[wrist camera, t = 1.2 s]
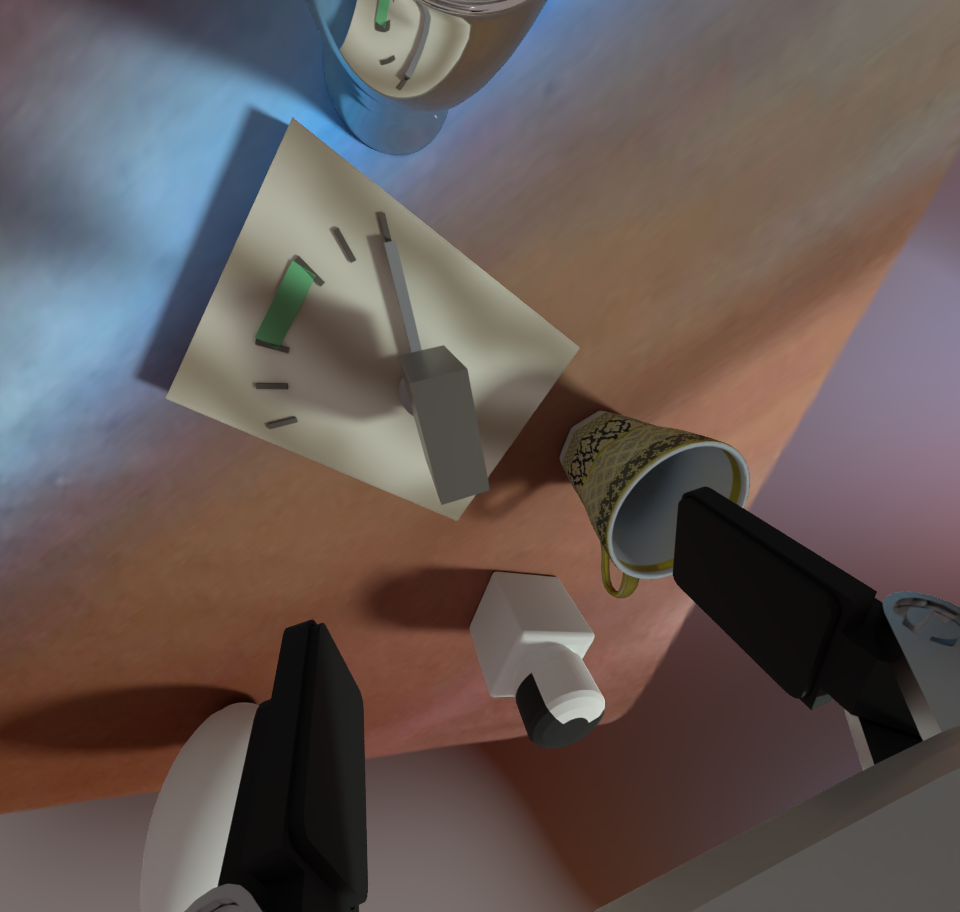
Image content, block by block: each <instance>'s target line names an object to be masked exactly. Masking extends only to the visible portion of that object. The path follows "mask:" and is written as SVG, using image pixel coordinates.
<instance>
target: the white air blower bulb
mask: <svg viewBox="0 0 960 912" xmlns="http://www.w3.org/2000/svg"><path fill="white" fill-rule="evenodd" d="M258 707H259V705H257V704H254V703H247V702H243V703H235V704H231V705H229V706H227V707H225V708H224V709H222V710H220V711H217V712H215V713H214V714H212V715H211V716H210V717H208V718H207V719H206V720H205V721H204V722H203V723H202V724H201V725H200V726H199V727H198V728H197V730H196V731H195V732H194V733H193V734H192V736H191V737H190V738H189V740H188V741H187V742H186V744H185V745H184V746H183V748H182V749H181V751H180V752H179V754H178V755H177V757H176V759H175V761H174V763H173V764H172V766H171V768H170V770H169V773H168V775H167V777H166V779H165V781H164V784H163V786H162V788H161V791H160V793H159V796H158V799H157V802H156V804H155V807H154V811H153V814H152V818H151V821H150V825H149V829H148V833H147V838H146V843H145V849H144V856H143V863H142V873H141V886H140V912H184V911H185V910H186V909H187V908H188V907H189V906H190V905H191V904H192V903H193V902H194V901H195V900H197V899H198V898H199V897H201V896H202V895H204V894H205V893H207V892H208V891H210V890H211V889H213V888H216V887H217V886H218V882H219V877H220V872H221V868H222V863H223V858H224V854H225V849H226V845H227V840H228V835H229V831H230V826H231V822H232V817H233V812H234V808H235V803H236V799H237V794H238V789H239V785H240V780H241V776H242V771H243V766H244V762H245V757H246V753H247V748H248V743H249V739H250V734H251V729H252V725H253V720H254V717H255V713H256V710H257V708H258Z"/></svg>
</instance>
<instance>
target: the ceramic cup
mask: <svg viewBox="0 0 960 912" xmlns="http://www.w3.org/2000/svg"><path fill="white" fill-rule="evenodd" d="M559 459H560V462H561V464H562V466H563V468H564V470H565V473H566V475H567V477H568V479H569V481H570V483H571V484H572V486H573V488H574V489H575V491H576V492H577V494H578V496H579V497H580V499H581V501H582V503H583V505H584V506H585V509H586V511H587V514H588V516H589V519H590V521H591V524H592V526H593V528H594V530H595V532H596V534H597V536H598V538H599V540H600V543H601V553H602V561H601V570H602V580H603V584H604V586H605V588H606V590H607V591H608V593H609V594H611V595H612V596H614V597H616V598H626V597H628V596H630V595H631V594H632V593H633V592H634V591H635V589H636V588H637V585H638V582H639V579H658V578H663V577H667V576H670V575H673V562H674V550H675V537H676V524H677V512H678V503H679V501H680V500H681V499H682V495H683V494H684V493H686V492H689V491H692V490H695V489H698V488H701V487H704V486H705V487H709V488H712V489H713V490H715V491H716V492H718V493H720V494H721V495H723V496H724V497H726V498H728V499H729V500H731V501H732V502H734V503H736V504H737V505H739V506H740V507H742V508H744V506H745V503H746V501H747V497H748V492H749V487H750V476H749V470H748V466H747V464H746V461H745V459H744V458H743V456H742V455H741V454H740V452H739V451H738V450H736V449H735V448H734V447H732V446H730V445H728V444H726V443H723V442H720V441H717V440H714V439H711V438H708V437H705V436H702V435H698V434H694V433H691V432H687V431H683V430H679V429H673V428H667V427H660V426H655V425H652V424H648V423H645V422H642V421H639V420H636V419H633V418H629V417H626V416H622V415H618V414H614V413H610V412H605V411H597V412H596V413H594V414H592V415H591V416H589V417H588V418H586V419H584V420H583V421H581V422H579V423H578V424H576V425H575V426H573V427H572V428H571V429H570V432H569V434H568V437H567V439H566V441H565V444H564V446H563V449H562V451H561V454H560V458H559ZM609 557H610V559H611V560H612V562H613V563H614V565H615V566H616V567H617V568H618V569H619V570H621V571H622V572H623V577H622V583H621V587H620V589H619V591H616V590H615V589H614V588H613V586H612V583H611V580H610V572H609Z"/></svg>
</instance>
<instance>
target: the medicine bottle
mask: <svg viewBox="0 0 960 912" xmlns="http://www.w3.org/2000/svg"><path fill="white" fill-rule="evenodd" d="M469 630H470V633H471V637H472V640H473V643H474V646H475V650H476V653H477V656H478V659H479V663H480V666H481V669H482V672H483V676H484V679H485V682H486V685H487V689H488V692H489V694H490V696H491V697H510V696H514V698H515V701H516V703H517V706H518V709H519V712H520V714H521V717H522V720H523V723H524V725H525V728H526V731H527V734H528V736H529V738H530V740H531V741H532V742H534V743H535V744H537V745H538V746H540V747H544V748H557V747H564V746H567V745H570V744H573V743H575V742H577V741H579V740H581V739H582V738H584V737H585V736H586V735H588V734H589V733H590V732H591V731H592V730H593V729H594V727H596V725H597V724H598V723H599V721H600V720H601V718H602V716H603V713H604V707H605V700H604V697H603V696H602V694H601V692H600V690H599V689H598V687H597V685H596V683H595V682H594V680H593V678H592V676H591V674H590V673H589V671H588V669H587V667H586V666H585V664H584V662H583V660H582V658H583V657H584V655H585V653H586V652H587V650H588V648H589V646H590V645H591V643H592V641H593V640H594V637H595V636H594V633H593V632H592V630H591V628H590V627H589V625H588V624H587V622H586V621H585V619H584V617H583V616H582V614H581V613H580V611H579V610H578V608H577V606H576V605H575V603H574V602H573V600H572V599H571V597H570V595H569V594H568V592H567V591H566V589H565V587H564V586H563V584H562V583H561V581H560V580H559V578H558V577H551V576H540V575H529V574H518V573H508V572H494V573H493V574H492V576H491V579H490V581H489V583H488V585H487V588H486V590H485V592H484V595H483V597H482V599H481V602H480V604H479V606H478V608H477V611H476V613H475V615H474V618H473V620H472V622H471V624H470V627H469Z"/></svg>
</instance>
